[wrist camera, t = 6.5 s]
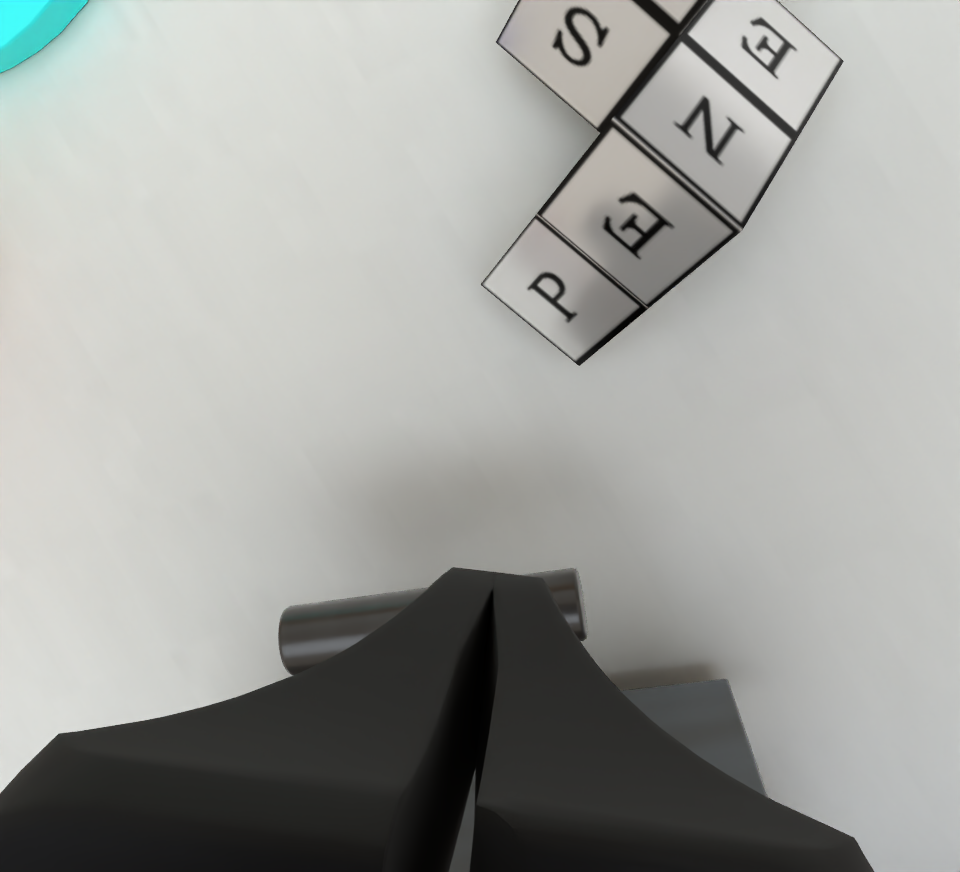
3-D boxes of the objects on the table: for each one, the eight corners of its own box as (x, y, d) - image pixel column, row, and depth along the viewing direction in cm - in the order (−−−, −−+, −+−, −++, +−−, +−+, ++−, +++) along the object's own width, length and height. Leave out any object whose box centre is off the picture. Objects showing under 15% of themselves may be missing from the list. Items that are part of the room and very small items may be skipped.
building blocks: (678, 217, 21) (967, -56, 14) (579, 365, 18) (874, 121, 11) (506, 68, 20) (718, -292, 13) (379, 200, 18) (559, -165, 11)
